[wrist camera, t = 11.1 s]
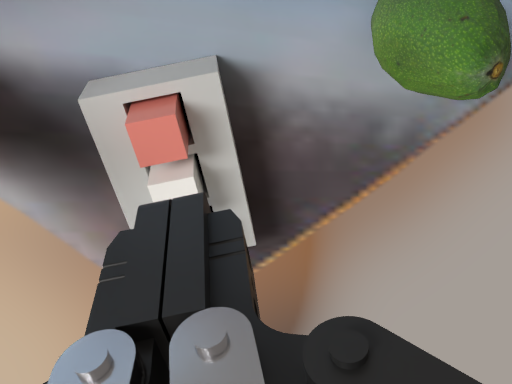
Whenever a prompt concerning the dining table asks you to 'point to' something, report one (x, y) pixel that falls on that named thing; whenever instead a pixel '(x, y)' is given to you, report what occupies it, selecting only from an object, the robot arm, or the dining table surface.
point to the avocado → (443, 45)
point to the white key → (175, 179)
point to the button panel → (200, 127)
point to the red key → (158, 130)
